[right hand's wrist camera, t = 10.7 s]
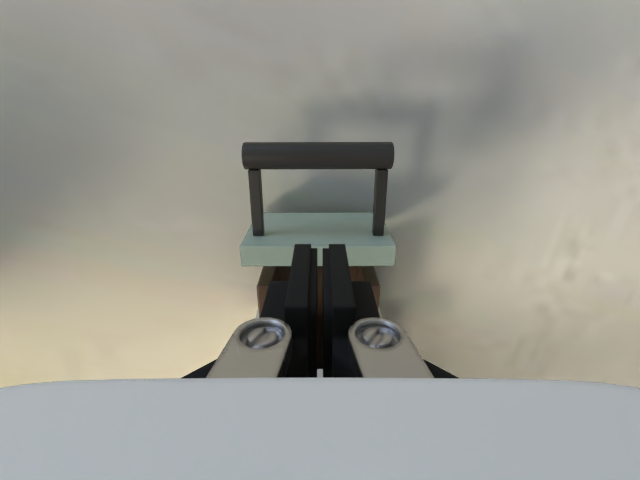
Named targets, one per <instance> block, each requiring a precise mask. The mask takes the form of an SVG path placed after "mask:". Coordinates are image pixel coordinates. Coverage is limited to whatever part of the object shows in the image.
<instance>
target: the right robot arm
mask: <svg viewBox="0 0 640 480" xmlns="http://www.w3.org/2000/svg"><path fill="white" fill-rule="evenodd" d="M317 337H318V275H317V248H311V244H295V246H294V252H293V258H292V264H291V270H290V276H289V281H270V283H269V286H268V290H267V293H266V297H265V301H264V304H263V308H262V312H261V315H260V318H256V319H252V320H249V321H247V322H245V323H243V324H241V325H240V326H239V327H238V328H237V329H236V330H235V331H234V333H233V334H232V336H231V337H230V339H229V341H228V342H227V344H226V346H225V347H224V349H223V351H222V352H221V354H220V355H219V357H218V359H216V360H214V361H212V362H211V363H209V364H207V365H205V366H203V367H201V368H199V369H197V370H195V371H194V372H192V373H190V374H188V375H186V376H184V377H182V378H180V379H113V380H82V381H57V382H44V383H32V384H24V385H17V386H10V387H4V388H0V480H640V388H635V387H630V386H623V385H616V384H607V383H596V382H582V381H560V380H524V379H460V378H458V377H456V376H454V375H452V374H450V373H448V372H446V371H445V370H443V369H441V368H439V367H437V366H435V365H433V364H431V363H429V362H428V361H426V360H424V359H422V357H421V355H420V354H419V352H418V351H417V349H416V347H415V346H414V344H413V342H412V341H411V339H410V337H409V336H408V334H407V333H406V331H405V330H404V329H403V328H402V327H401V326H400V325H399V324H397V323H395V322H393V321H391V320H388V319H384V318H380V315H379V312H378V308H377V304H376V301H375V297H374V293H373V290H372V286H371V283H370V281H351V276H350V270H349V264H348V258H347V252H346V246H345V244H329V248H323V275H322V337H323V378H317Z"/></svg>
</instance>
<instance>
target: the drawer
mask: <svg viewBox="0 0 640 480" xmlns="http://www.w3.org/2000/svg"><path fill="white" fill-rule="evenodd" d="M242 162H243V166H244V168H245V169H249V170H248V174H249V188H250V202H251V215H252V225H251V227H250V229H249V230H248V232H247V234H246V236H245V238H244V240H243V242H242V244H241V246H240V254H241V265H242V266H263V269H262V272H261V275H260V278H259V281H258V284H257V296H258V310H259V318H260V315H261V312H262V308H263V304H264V301H265V297H266V293H267V290H268V286H269V283H270V281H289V276H290V270H291V264H292V258H293V252H294V246H295V244H311V248H317V275H318V337H317V369H323V337H322V275H323V248H329V244H345V246H346V252H347V258H348V264H349V270H350V276H351V281H370V283H371V286H372V290H373V293H374V297H375V301H376V304H377V308H378V310H379V295H380V285H379V281H378V278H377V275H376V272H375V269H374V266H395V260H396V244H395V243H394V241H393V239H392V237H391V235H390V233H389V231H388V229H387V227H386V225H385V207H386V192H387V177H388V170H387V169H391V168H392V166H393V162H394V146H393V143H392V142H245V143H243V145H242ZM261 169H375V186H374V205H373V213H263V198H262V182H261Z"/></svg>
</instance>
